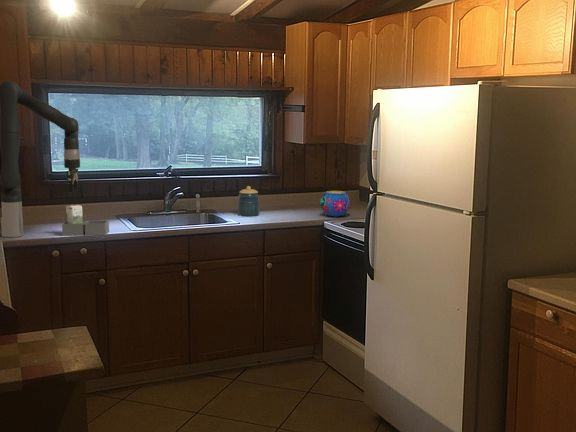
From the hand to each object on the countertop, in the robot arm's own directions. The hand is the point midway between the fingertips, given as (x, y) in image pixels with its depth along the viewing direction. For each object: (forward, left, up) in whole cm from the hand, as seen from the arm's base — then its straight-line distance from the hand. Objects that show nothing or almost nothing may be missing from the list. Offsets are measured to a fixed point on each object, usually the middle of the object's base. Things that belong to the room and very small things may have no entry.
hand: (73, 190), depth 327 cm
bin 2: (+11, 0, -22) cm, 25 cm away
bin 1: (0, 0, -22) cm, 22 cm away
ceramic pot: (+142, +51, -22) cm, 153 cm away
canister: (+90, +58, -22) cm, 109 cm away
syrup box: (0, 0, -22) cm, 22 cm away
